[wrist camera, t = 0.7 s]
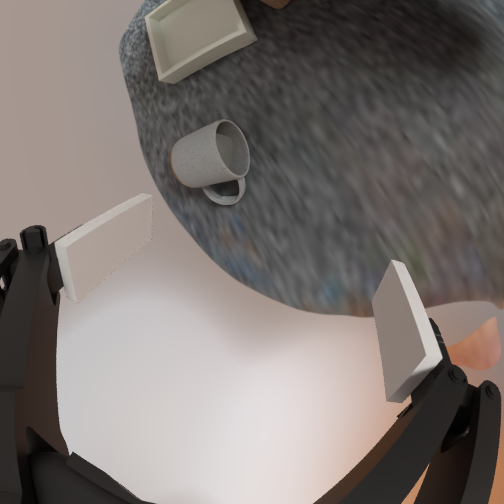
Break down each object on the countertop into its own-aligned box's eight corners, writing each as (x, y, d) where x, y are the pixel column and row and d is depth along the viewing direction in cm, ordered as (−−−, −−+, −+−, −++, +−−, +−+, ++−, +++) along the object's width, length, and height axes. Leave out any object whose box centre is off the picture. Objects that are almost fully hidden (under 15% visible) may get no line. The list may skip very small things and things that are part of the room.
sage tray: (230, -21, 25) (218, -31, 22) (257, 40, 28) (246, 31, 25) (158, 22, 32) (144, 17, 29) (174, 84, 35) (159, 81, 32)
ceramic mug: (193, 140, 37) (157, 141, 31) (241, 120, 33) (210, 115, 27) (212, 208, 40) (180, 221, 33) (262, 196, 36) (235, 207, 29)
